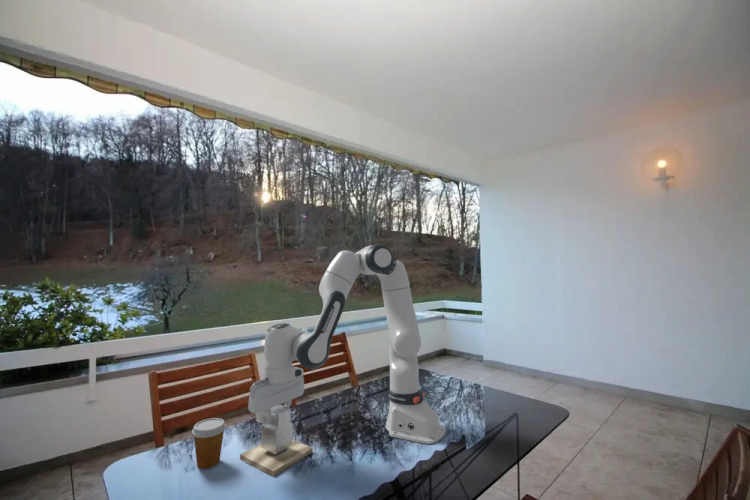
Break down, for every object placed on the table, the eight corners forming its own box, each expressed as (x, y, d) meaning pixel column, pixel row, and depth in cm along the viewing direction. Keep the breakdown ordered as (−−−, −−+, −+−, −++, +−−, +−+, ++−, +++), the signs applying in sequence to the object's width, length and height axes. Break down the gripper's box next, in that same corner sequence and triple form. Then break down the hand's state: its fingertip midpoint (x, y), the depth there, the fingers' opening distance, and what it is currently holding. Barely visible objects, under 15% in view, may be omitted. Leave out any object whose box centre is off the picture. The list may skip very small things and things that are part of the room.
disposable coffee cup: (198, 455, 112) (199, 418, 113) (229, 454, 113) (230, 416, 114) (185, 473, 103) (186, 431, 103) (218, 471, 104) (219, 430, 104)
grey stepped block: (292, 444, 113) (293, 407, 114) (275, 454, 108) (275, 414, 108) (270, 435, 120) (271, 400, 120) (253, 444, 114) (253, 406, 114)
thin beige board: (312, 452, 114) (312, 432, 115) (273, 476, 101) (273, 453, 101) (279, 438, 123) (280, 420, 124) (239, 459, 110) (240, 438, 111)
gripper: (257, 385, 103) (256, 432, 103) (307, 368, 120) (306, 409, 119) (244, 381, 107) (243, 427, 106) (294, 365, 124) (294, 405, 123)
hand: (277, 417), depth 113 cm, fingers closed on grey stepped block, 5 cm apart
